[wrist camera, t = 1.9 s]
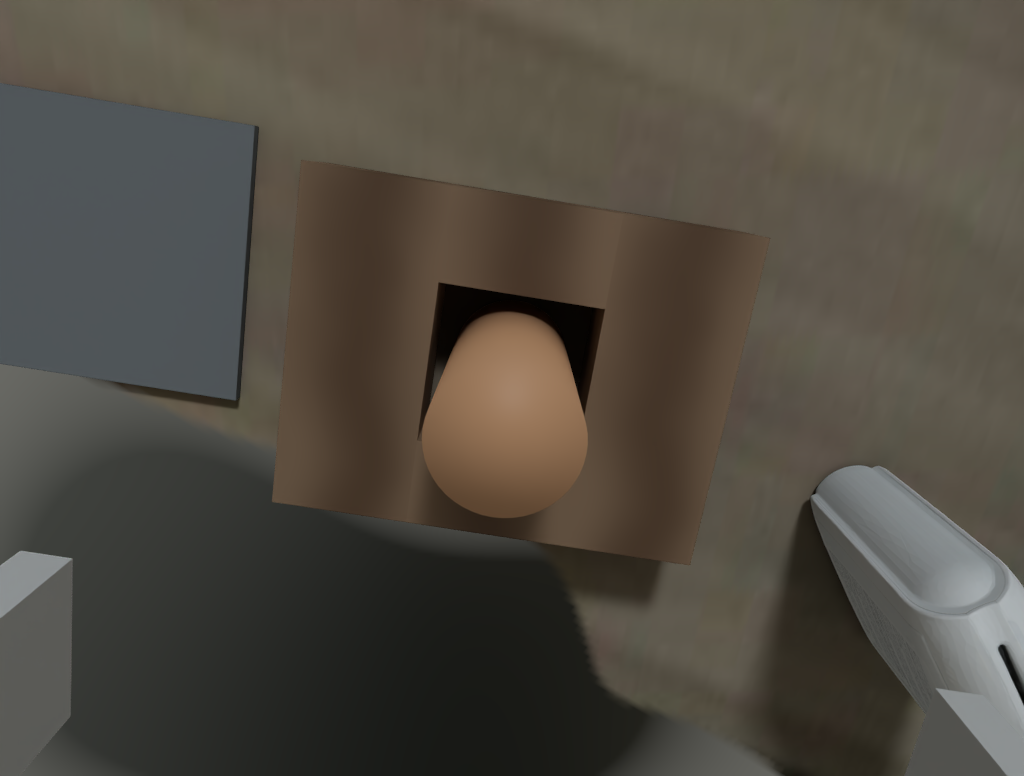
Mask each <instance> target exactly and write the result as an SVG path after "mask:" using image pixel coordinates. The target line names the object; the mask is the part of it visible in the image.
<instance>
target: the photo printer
mask: <svg viewBox="0 0 1024 776" xmlns="http://www.w3.org/2000/svg"><path fill="white" fill-rule="evenodd" d="M810 501H811V506H812V511H813V515H814V518H815V521H816V524H817V527H818V529H819V532H820V534H821V537H822V539H823V543H824V545H825V547H826V549H827V551H828V553H829V556H830V558H831V561H832V563H833V565H834V568H835V570H836V572H837V574H838V577H839V579H840V581H841V583H842V585H843V588H844V590H845V592H846V595H847V597H848V599H849V601H850V603H851V605H852V607H853V609H854V611H855V614H856V616H857V618H858V620H859V622H860V624H861V626H862V628H863V630H864V632H865V634H866V635H867V637H868V639H869V640H870V642H871V643H872V645H873V646H874V648H875V649H876V650H877V652H878V653H879V654H880V656H881V657H882V658H883V659H884V661H885V662H886V663H887V665H888V666H889V667H890V668H891V670H892V671H893V672H894V674H895V675H896V676H897V678H898V679H899V680H900V682H901V683H902V684H903V685H904V687H905V688H906V689H907V691H908V692H909V693H910V695H911V696H912V697H913V698H914V700H915V701H916V702H917V704H918V705H919V706H920V708H921V709H922V710H923V712H924V713H925V714H926V713H927V711H928V708H929V705H930V702H931V699H932V696H933V693H934V691H935V688H938V689H944V690H951V691H958V692H964V693H971V694H978V695H984V696H985V697H986V698H987V699H988V700H989V701H990V703H991V704H992V705H993V706H994V707H995V708H996V709H997V710H998V711H999V713H1000V714H1001V715H1002V716H1003V717H1004V718H1005V719H1006V720H1007V721H1008V723H1009V724H1010V725H1011V726H1012V727H1013V728H1014V729H1015V730H1016V731H1017V732H1018V734H1019V735H1020V736H1021V737H1022V738H1023V739H1024V587H1023V586H1022V585H1021V583H1020V582H1019V581H1018V579H1017V578H1016V577H1015V575H1014V574H1013V573H1012V572H1011V571H1010V569H1009V568H1008V567H1007V566H1006V565H1005V564H1004V563H1003V562H1002V561H1001V560H1000V559H999V558H998V557H996V556H995V555H994V554H993V553H991V552H990V551H989V550H988V549H986V548H985V547H984V546H983V545H981V544H980V543H979V542H978V541H976V540H975V539H974V538H973V537H971V536H970V535H969V534H968V533H966V532H965V531H964V530H963V529H961V528H960V527H959V526H958V525H956V524H955V523H954V522H953V521H951V520H950V519H949V518H948V517H946V516H945V515H944V514H943V513H941V512H940V511H939V510H938V509H936V508H935V507H934V506H932V505H931V504H930V503H929V502H928V501H926V500H925V499H924V498H922V497H921V496H920V495H919V494H917V493H916V492H915V491H914V490H912V489H911V488H910V487H909V486H907V485H906V484H905V483H903V482H902V481H901V480H900V479H898V478H897V477H896V476H894V475H893V474H892V473H891V472H889V471H888V470H886V469H885V468H883V467H880V466H876V467H874V468H869V467H867V466H861V465H857V466H849V467H845V468H842V469H839V470H837V471H835V472H833V473H832V474H830V475H829V476H827V477H826V478H825V479H824V480H823V481H822V482H821V483H820V484H819V486H818V487H817V489H816V494H814V495H812V496H811V497H810Z"/></svg>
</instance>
